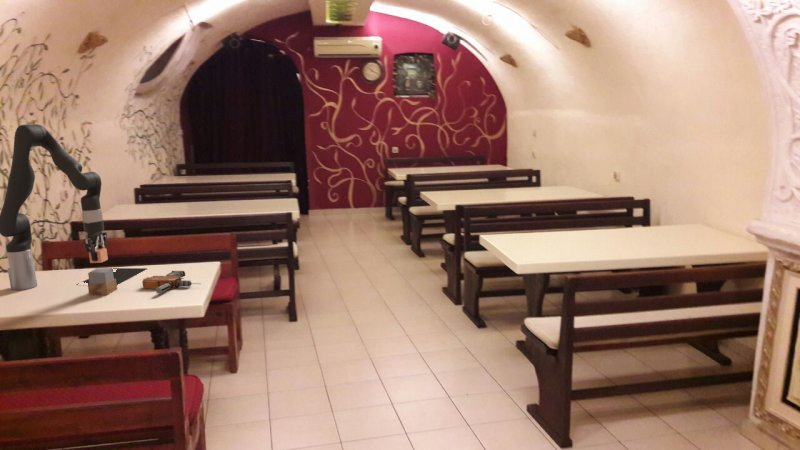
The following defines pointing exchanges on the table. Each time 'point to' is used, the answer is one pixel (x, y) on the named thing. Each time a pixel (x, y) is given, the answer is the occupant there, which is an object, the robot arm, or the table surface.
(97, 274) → the gray middle block
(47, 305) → the table surface
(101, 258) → the terracotta block
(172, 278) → the tool
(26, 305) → the table surface
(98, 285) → the walnut base block
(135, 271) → the tablet
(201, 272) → the table surface
